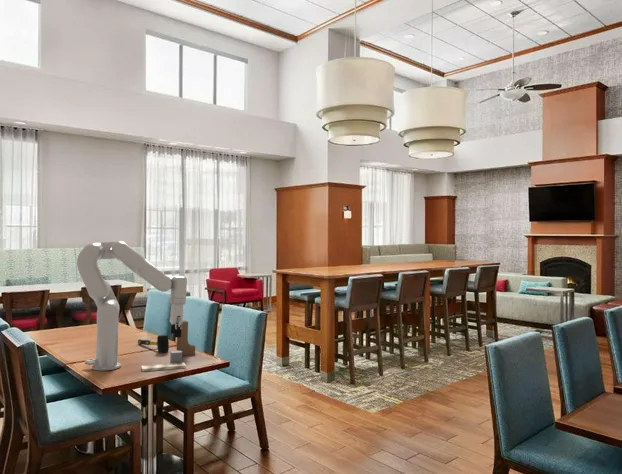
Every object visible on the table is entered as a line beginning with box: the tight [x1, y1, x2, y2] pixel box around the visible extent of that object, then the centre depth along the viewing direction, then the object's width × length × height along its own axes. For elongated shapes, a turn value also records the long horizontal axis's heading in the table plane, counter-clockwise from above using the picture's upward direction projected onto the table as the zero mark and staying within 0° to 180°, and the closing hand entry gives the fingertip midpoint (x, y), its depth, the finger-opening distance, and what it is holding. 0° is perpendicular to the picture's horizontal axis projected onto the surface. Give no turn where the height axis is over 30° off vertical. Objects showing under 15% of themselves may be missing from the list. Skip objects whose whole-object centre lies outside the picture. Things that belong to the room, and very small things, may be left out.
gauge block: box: [169, 350, 183, 364], centre depth 242 cm, size 5×4×6 cm
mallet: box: [137, 334, 170, 354], centre depth 273 cm, size 29×6×10 cm, turn 48°
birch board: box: [140, 361, 187, 372], centre depth 233 cm, size 20×6×1 cm, turn 115°
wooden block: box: [176, 320, 196, 357], centre depth 262 cm, size 9×4×18 cm, turn 127°
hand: (175, 335), depth 242 cm, fingers open, 9 cm apart
